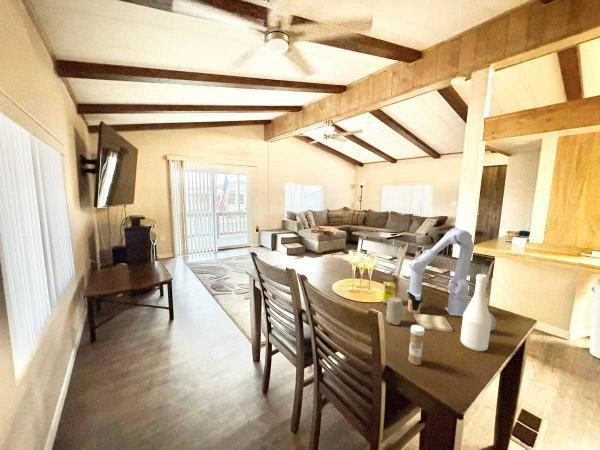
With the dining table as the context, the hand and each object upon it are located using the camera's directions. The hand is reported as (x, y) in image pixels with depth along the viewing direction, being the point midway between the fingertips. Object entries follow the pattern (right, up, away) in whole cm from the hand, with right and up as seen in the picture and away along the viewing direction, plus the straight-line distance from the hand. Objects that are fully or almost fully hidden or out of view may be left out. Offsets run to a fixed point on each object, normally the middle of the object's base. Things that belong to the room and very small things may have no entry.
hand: (413, 307), depth 137 cm
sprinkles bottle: (-17, -7, -41) cm, 45 cm away
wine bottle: (+12, -6, -30) cm, 32 cm away
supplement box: (-10, 0, +10) cm, 14 cm away
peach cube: (0, -2, 0) cm, 2 cm away
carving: (-15, -3, -13) cm, 20 cm away
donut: (+22, -5, -19) cm, 30 cm away
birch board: (+3, -4, -13) cm, 14 cm away
